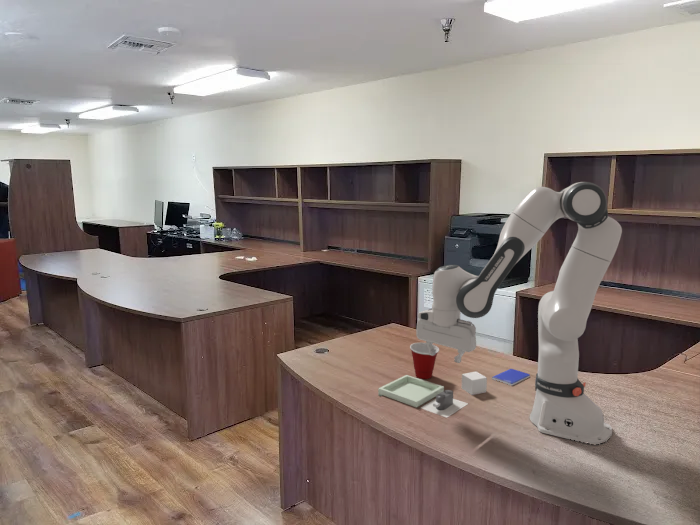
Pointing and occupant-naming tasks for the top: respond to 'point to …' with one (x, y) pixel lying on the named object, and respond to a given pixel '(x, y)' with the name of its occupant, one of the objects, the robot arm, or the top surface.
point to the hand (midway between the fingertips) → (444, 358)
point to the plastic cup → (423, 360)
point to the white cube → (474, 383)
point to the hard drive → (511, 376)
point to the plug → (444, 400)
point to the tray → (410, 390)
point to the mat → (448, 411)
